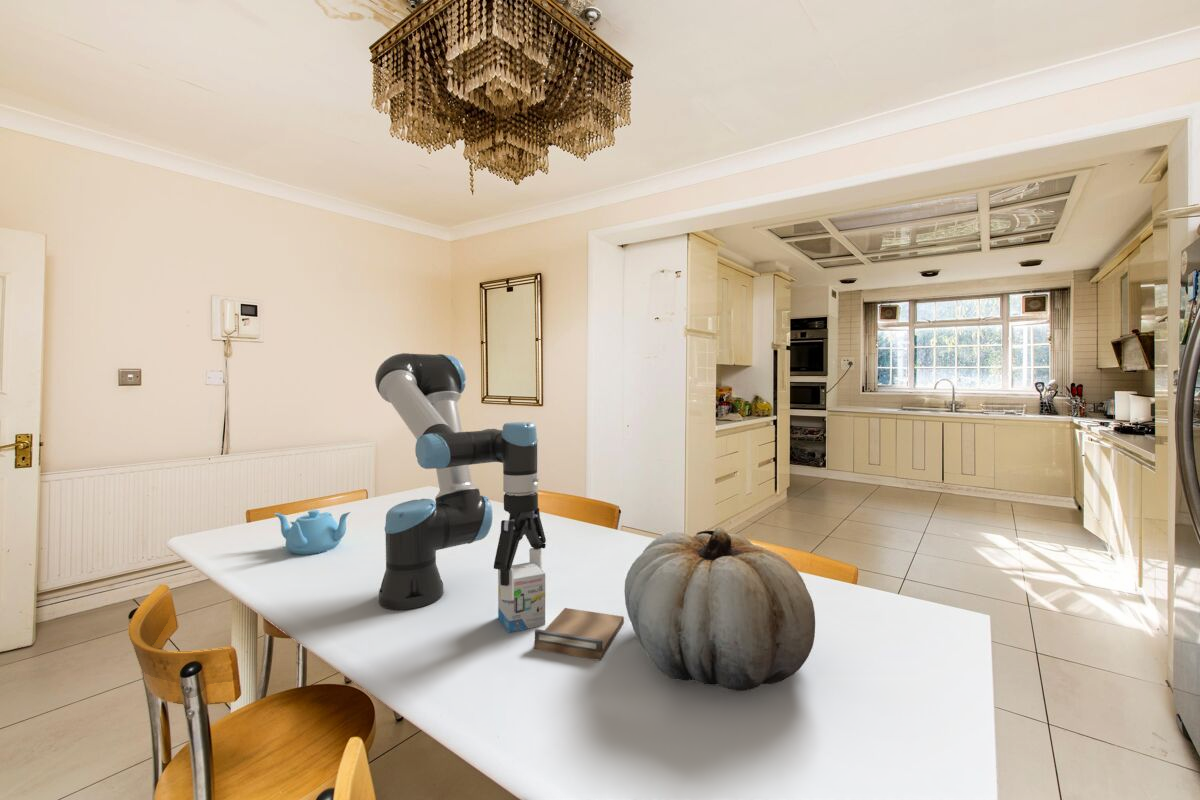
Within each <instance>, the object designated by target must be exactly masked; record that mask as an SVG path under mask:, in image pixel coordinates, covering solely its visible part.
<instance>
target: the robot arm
mask: <svg viewBox="0 0 1200 800" xmlns="http://www.w3.org/2000/svg"><path fill="white" fill-rule="evenodd" d="M466 380H467V378H466V372H465V369H464V366H463V365H462V362H461V361H460V360H459V359H458V358H457V357H455V356H453V355H447V354H444V353H443V354H442V353H441V354H440V353H439V354H431V353H430V354H428V353H427V354H426V353H425V354H424V353H422V354H421V353H409V352H407V353H405V352H402V353H398V354H395V355H392V356H389V357H388V358H386V359H385V360H384V361H382V363H381V364H380V366H379V367H378V368H377V371H376V373H375V379H374V382H375V383H374V384H375V388H376V390H377V392H378V394H379V395H380V397H381V398H382V399H383V400H384V401H385V402H388V403H390V404H391V405H392V407H393V408H394V409H395V411H396V412H397V414H398V415H399V416H400V418H401V419H402V421H403V422H404V423H405V425H406V426H407V428H408V430H410V432H411V433H412V435H413V436H414V438H415V439H416V442H415V450H414V451H415V457H416V460H417V463H418V465H419V467H421V468H423V469H425V470H433V469H434V470H436V476H437V483H438V486H439V491H438V493H437V495H436V496H435V498H434V499H435V500H434V499H430V498H420V499H412V500H407V501H404V502H400V503H398V504H396V505H394V506H392V507H391V508H390V509H388V511H386V515H385V525H384V532H385V572H384V575H383V578H382V581H381V584H380V588H379V590H378V605H380V606H381V607H383V608H385V609H388V610H389V609H390V610H398V611H399V610H402V611H403V610H410V609H411V610H412V609H418V608H421V607H425V606H428V605H431V604H432V603H435V602H436V601H439V600H440V599H441V598H442V597H443V595H444V583H443V580H442V578H441V574H440V572H439V568H438V566H437V555H436V554H437V551H439V550H444V549H448V548H453V547H457V546H462V545H466V544H467V545H469V544H472V543H475V542H478V541H481V540H484V539H485V538H486V537H487V536H488V535H489V533H490V530H491V529H492V528H491V527H492V524H493V518H494V517H493V506H492V503H491V501H490V500H489V498H488V497H487V496H485V495H481V493H480V488H479V487H477V486H476V485H474V484H473V481H472V476H471V471H470V466H471V465H479V464H488V463H489V464H490V463H502V469H503V470H502V472H503V473H502V474H503V476H502V477H503V479H502V480H503V490H502V491H503V492H504V495H503V511H505V512H507V513H508V514H509V517H508V519H507V520H503V519H502V520H501V522H500V533H499V538H498V544H497V548H496V552H495V553H496V554H495V557H494V562H493V569H494V570H498V569H499V570H500V583H501V599H502V600H510V601H513V600H514V570H513V568H511V566H512V565H513V563H514V559H515V556H516V553H517V550H518V547H519V543H520V541H521V540H522V539H523V538H524V536H526V537H525V538H526V539H527V541H528V544H529V545H530V546H531V548H529V562H533V563H534V564H536V565H537V566H538V567H539V568H540V569H541V570H542V571H543V569H542V568H543V567H542V549H546V546H547V544H546V542H547V539H546V535H545V532H544V527H543V524H542V519H541V516H540V514H541V513H540V508H539V494H538V492H536V491H538V482H539V480H540V479H539V477H538V442H539V441H538V437H537V427H536V424H534V423H533V422H527V421H526V422H524V421H522V422H518V421H516V422H508V423H504V424H503V425H502V429H497V428H487V429H482V430H474V431H473V430H472V431H463V430H462V424H461V419H460V418H461V417H460V413H459V409H458V405H457V403H458V401H459V400H460V399H461V397H462V395H461V394H462V393H464V391H465V388H466V382H465V381H466ZM469 465H470V466H469Z"/></svg>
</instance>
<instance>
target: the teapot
mask: <svg viewBox="0 0 1200 800" xmlns="http://www.w3.org/2000/svg"><path fill="white" fill-rule="evenodd" d="M307 513H308V514H305V515H302V516H299V517H298V518H296V519H295V521H290V522H288V519H287V517H286V515H285V514H284V513H283V514H282V513H279V512H274V513H273V514H274V515H275V516H276V517H277V518H278V519H279V522H280V532H281V535H282V537H283V538H284V539H285V548H286V549H287V550H288V551H289V552H290V553H291V554H293V553H294V555H299V554H307V555H314V554H313V553H316V554H320V553H319V552H321V553H325V552H328V551H327V550H329V551H330V549H331V550H334V549H335V548H336V547H337V546H338V545H339V544H340V543H341V541H342V538H343V537H344V536H345V534H346V531H347V521H346V520H347V517H348V515H349V514H350V513H351V511H349V512H346V513H342V514H341V515H340V517H339V521H338V522H337V521H336V520H335V518H334V517H333V515H332V513H330V512H326V511H324V512H322V513H320V510H319V509H313V510H308V511H307ZM289 523H290V524H291V526H290V525H289ZM324 551H325V552H324Z"/></svg>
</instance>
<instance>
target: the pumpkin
mask: <svg viewBox="0 0 1200 800" xmlns="http://www.w3.org/2000/svg"><path fill="white" fill-rule="evenodd" d="M713 531H714V532H713V534H712V535H710V534H704V533H702V534H699V535H696V534H695V535H694V536H692V535H689V534H687V533H684V532H676V531H674V532H668V533H665V534H662V535H660V536H659V537H657V538H655V539H654V540H653V539H652V541H651V542H650V543H649V544H648V545H647V546H646V547H645V548H644V550H643V551H642V553H641V554H640V555H639V556H638V557H637V558H636V559H635V560H634V562H633V563H632V564H631V566H630V568H629V570H628V572H627V574H626V577H625V580H624V600H625V603H624V604H625V607H626V612H627V616H628V619H629V622H631V627H632V630H633V632H634V635H635V636H636V640H637V641H638V643H639V644H640V646H641V647H642V648H643V650H644V651H645V652H646V655H647V656H648V658H649V659H650V661H651V663H652V664H653V665H654V666H655V668H656V669H657V670H659V671H660V672H661V673H662V674H664V676H666V677H668V678H671V679H674V680H676V681H684V682H685V681H688V682H689V681H695V682H698V683H699V684H701V685H706V686H715V685H716V686H717V685H718V686H720V687H722V688H724V689H726V690H729V691H737V692H740V691H741V692H743V691H744V692H746V691H750V690H755V689H756V688H758V687H760V686H761V685H774V684H777V683H780V682H781V683H782V681H784V680H786V679H788V678H790V677H792V676H793V675H795V673H796V672H797V671H799V669H801V668H802V667H803V665H805V662H806V661H807V660H808V658H809V656H810V653H811V651H812V649H813V646H814V642H815V635H816V634H815V633H816V613H815V607H814V602H813V599H812V596H811V594H810V592H809V590H808V588H807V586H806V583H805V581H804V579H803V578H802V576H801V575H800V573H799V571H797V569H796V567H794V566H793V565H792V564H791V563H790V561H788V560H787V559H786V558H784V557H783V556H782V555H780V554H778V553H776V552H774V551H771V550H770V549H766V548H764V547H762V546H759V545H755V544H753V543H752V542H751V541H749V539H747V538H746V537H744V536H742V535H739V534H736V533H728V532H727V531H726V530H725V529H724V528H723V527H717V528H715V529H714V530H713Z"/></svg>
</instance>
